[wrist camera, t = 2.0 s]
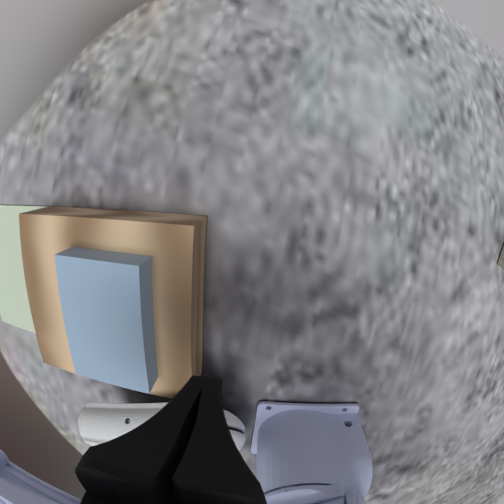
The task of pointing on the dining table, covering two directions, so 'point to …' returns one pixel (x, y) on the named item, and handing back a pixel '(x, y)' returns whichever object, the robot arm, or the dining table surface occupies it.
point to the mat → (13, 269)
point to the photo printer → (133, 421)
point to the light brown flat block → (125, 241)
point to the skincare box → (501, 259)
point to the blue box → (109, 315)
